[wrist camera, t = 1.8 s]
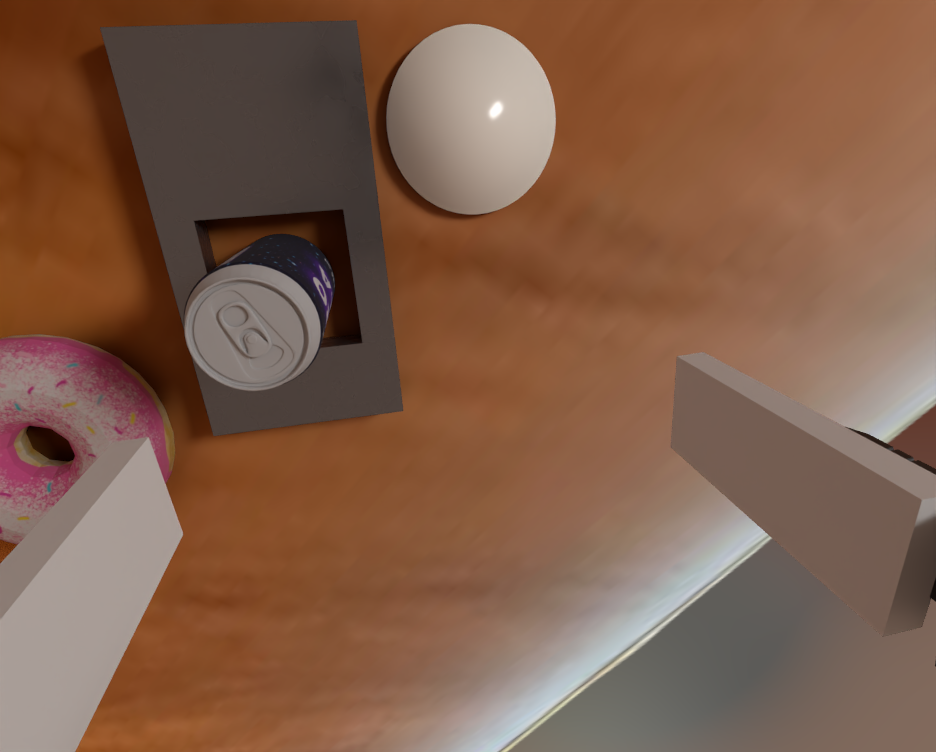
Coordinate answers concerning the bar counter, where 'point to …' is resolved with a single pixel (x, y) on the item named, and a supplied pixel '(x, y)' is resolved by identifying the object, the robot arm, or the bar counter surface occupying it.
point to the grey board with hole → (263, 183)
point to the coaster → (470, 119)
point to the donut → (66, 420)
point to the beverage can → (261, 313)
